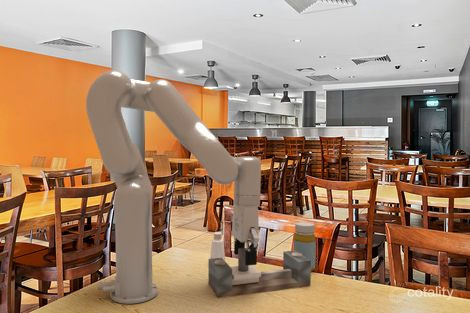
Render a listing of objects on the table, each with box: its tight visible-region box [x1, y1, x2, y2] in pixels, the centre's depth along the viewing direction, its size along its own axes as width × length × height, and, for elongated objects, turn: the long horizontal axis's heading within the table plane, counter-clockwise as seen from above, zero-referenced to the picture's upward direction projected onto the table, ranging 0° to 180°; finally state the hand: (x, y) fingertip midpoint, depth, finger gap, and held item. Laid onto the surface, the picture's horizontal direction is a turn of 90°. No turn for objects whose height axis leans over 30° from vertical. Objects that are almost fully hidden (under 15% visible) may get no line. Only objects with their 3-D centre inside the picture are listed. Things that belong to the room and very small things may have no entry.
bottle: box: [293, 221, 317, 273], centre depth 124 cm, size 7×7×15 cm
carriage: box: [230, 247, 262, 285], centre depth 109 cm, size 8×7×9 cm
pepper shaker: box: [209, 231, 226, 262], centre depth 127 cm, size 5×5×11 cm
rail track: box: [208, 250, 312, 299], centre depth 110 cm, size 28×10×8 cm, turn 108°
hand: (244, 259), depth 109 cm, fingers open, 9 cm apart
